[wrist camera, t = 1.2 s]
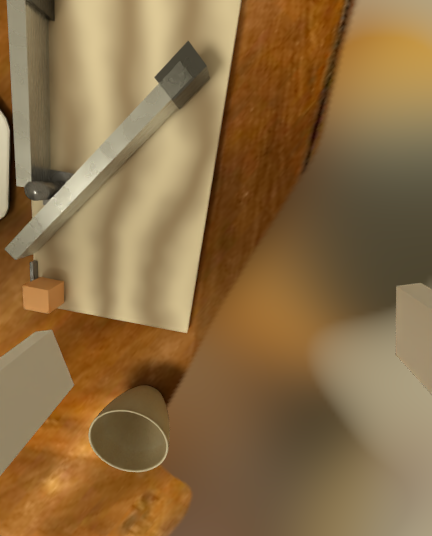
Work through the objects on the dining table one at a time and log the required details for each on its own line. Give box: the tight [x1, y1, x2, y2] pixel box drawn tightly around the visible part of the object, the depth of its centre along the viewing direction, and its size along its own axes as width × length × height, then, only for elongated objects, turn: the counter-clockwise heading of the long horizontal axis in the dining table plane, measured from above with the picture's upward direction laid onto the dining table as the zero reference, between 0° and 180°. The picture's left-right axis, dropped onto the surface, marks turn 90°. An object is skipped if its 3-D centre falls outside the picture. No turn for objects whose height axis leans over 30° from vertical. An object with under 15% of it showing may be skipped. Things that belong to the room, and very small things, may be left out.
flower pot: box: [89, 385, 170, 472], centre depth 37 cm, size 10×10×7 cm
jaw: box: [5, 41, 210, 260], centre depth 28 cm, size 2×28×3 cm, turn 130°
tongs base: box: [7, 0, 78, 282], centre depth 28 cm, size 5×34×4 cm, turn 170°
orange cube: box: [23, 277, 64, 314], centre depth 33 cm, size 3×3×3 cm
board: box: [32, 0, 242, 333], centre depth 30 cm, size 20×36×1 cm, turn 170°
